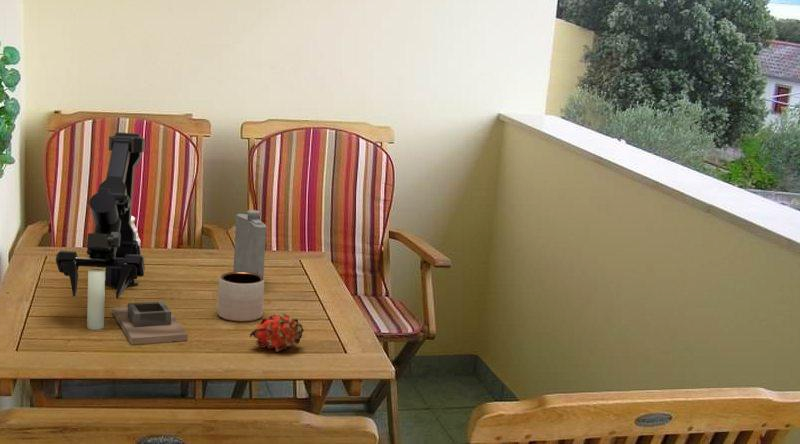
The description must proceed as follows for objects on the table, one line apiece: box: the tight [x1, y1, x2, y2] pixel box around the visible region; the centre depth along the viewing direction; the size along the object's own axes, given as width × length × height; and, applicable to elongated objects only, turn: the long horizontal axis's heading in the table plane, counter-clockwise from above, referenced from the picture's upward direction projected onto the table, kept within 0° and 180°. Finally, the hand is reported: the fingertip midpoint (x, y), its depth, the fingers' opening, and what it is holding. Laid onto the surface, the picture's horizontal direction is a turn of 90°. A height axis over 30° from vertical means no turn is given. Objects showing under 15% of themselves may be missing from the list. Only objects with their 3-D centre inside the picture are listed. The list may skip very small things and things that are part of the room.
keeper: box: [112, 301, 188, 346], centre depth 214 cm, size 22×12×4 cm, turn 27°
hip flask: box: [232, 209, 267, 278], centre depth 253 cm, size 16×4×20 cm, turn 31°
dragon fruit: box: [249, 312, 305, 353], centre depth 207 cm, size 8×8×12 cm
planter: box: [216, 271, 266, 323], centre depth 227 cm, size 11×11×10 cm
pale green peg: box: [86, 268, 106, 331], centre depth 210 cm, size 4×4×13 cm
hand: (95, 296), depth 209 cm, fingers open, 9 cm apart
